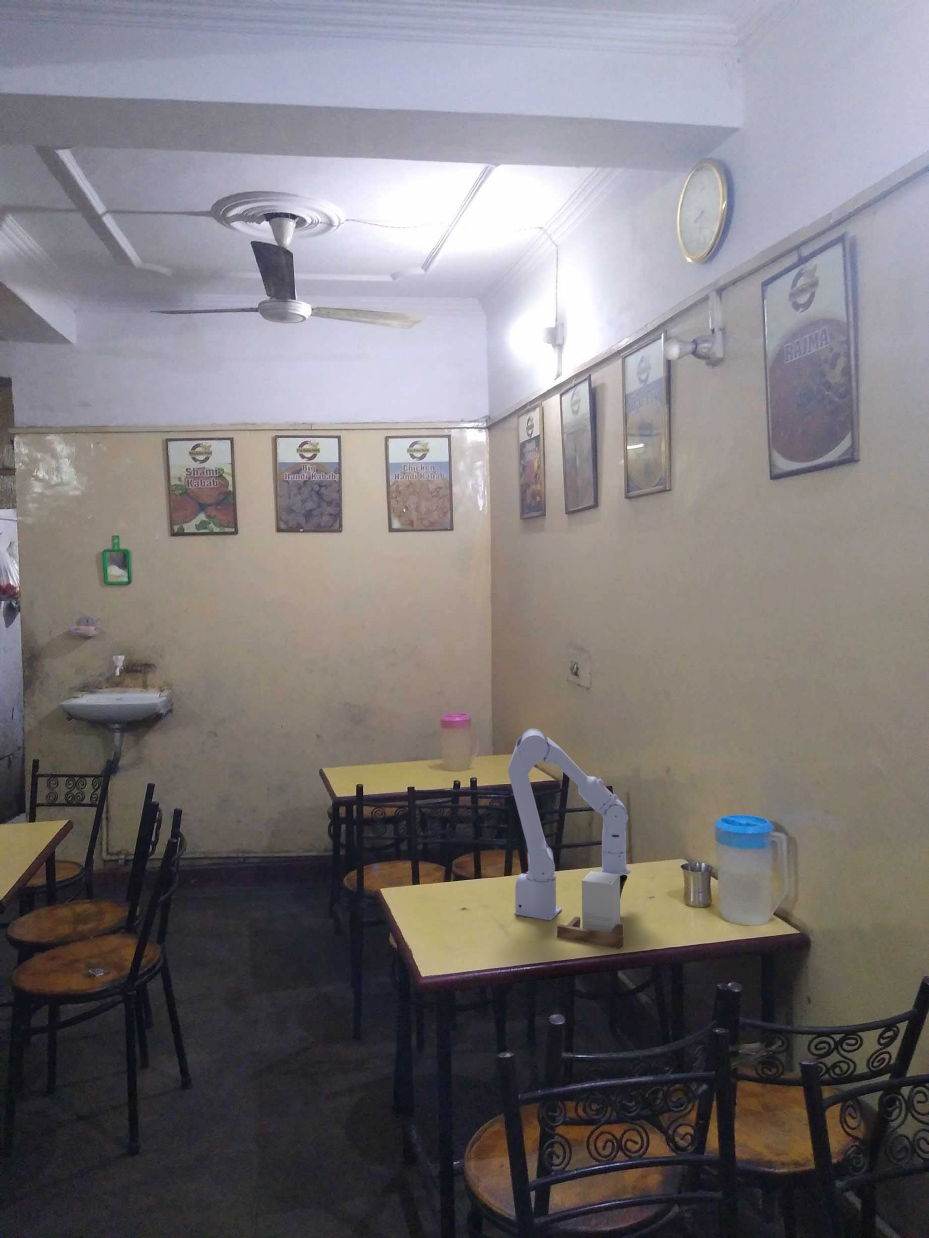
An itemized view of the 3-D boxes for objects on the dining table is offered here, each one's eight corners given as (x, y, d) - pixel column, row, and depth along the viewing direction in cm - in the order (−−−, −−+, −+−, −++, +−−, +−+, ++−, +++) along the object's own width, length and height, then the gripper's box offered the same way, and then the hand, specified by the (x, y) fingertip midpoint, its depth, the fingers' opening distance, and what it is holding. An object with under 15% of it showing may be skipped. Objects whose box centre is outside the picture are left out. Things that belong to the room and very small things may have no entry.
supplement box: (621, 927, 207) (621, 874, 206) (612, 939, 200) (613, 884, 199) (590, 922, 210) (590, 869, 209) (581, 934, 203) (581, 879, 202)
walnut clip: (557, 936, 202) (557, 925, 202) (567, 925, 208) (567, 914, 208) (621, 948, 195) (621, 937, 195) (631, 936, 202) (631, 925, 201)
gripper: (621, 861, 206) (621, 919, 207) (638, 844, 219) (638, 898, 220) (592, 856, 209) (591, 913, 210) (610, 840, 222) (610, 894, 223)
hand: (613, 905), depth 215 cm, fingers closed
